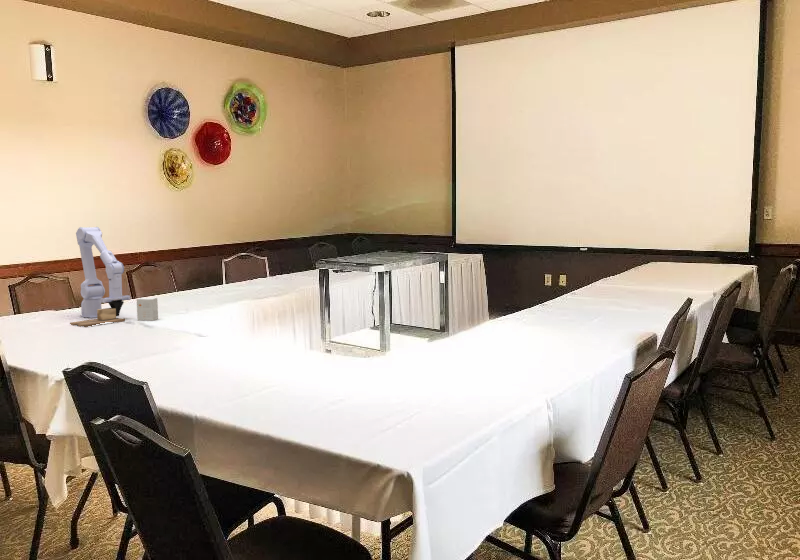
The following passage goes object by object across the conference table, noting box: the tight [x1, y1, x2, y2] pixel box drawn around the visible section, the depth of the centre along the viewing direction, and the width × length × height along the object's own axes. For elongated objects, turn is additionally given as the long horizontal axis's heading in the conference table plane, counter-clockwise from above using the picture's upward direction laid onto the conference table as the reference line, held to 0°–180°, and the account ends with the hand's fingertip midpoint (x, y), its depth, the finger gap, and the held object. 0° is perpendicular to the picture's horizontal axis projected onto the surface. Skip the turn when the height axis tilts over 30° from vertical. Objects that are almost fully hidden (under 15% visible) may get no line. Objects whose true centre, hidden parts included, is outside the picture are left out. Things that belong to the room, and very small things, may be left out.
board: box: [69, 317, 126, 328], centre depth 305 cm, size 12×20×1 cm, turn 149°
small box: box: [136, 297, 159, 322], centre depth 315 cm, size 8×6×10 cm
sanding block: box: [96, 307, 117, 321], centre depth 309 cm, size 4×7×5 cm, turn 149°
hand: (116, 316), depth 313 cm, fingers closed
